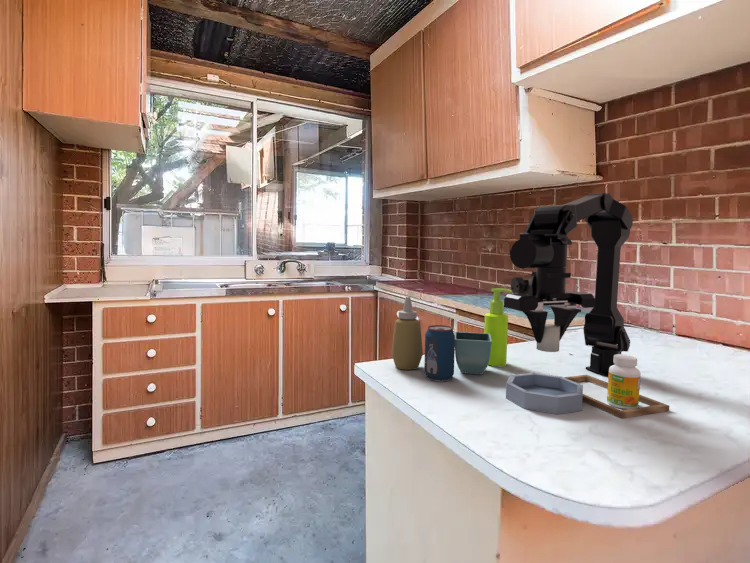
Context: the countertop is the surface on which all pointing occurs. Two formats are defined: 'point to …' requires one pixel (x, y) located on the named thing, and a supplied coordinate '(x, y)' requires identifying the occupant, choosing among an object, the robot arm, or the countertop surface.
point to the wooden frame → (653, 408)
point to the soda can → (439, 353)
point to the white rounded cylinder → (550, 339)
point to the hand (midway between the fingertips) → (547, 341)
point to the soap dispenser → (497, 329)
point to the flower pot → (472, 351)
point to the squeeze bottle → (407, 339)
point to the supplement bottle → (624, 382)
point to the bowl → (545, 393)
